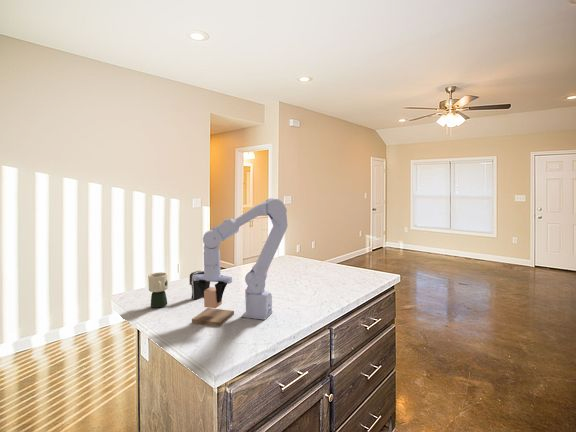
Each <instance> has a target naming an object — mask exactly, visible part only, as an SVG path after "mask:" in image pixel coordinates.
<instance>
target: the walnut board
mask: <svg viewBox="0 0 576 432" xmlns="http://www.w3.org/2000/svg"><path fill="white" fill-rule="evenodd" d="M234 315H235V310H230V309H221V308H208V307H206V309H204V310H203V311H202V312H200V313H198V314H197V315H196V316H194V317H192V319H191V324H194V325H203V326H211V327H222V326H223V325H224V324H225V323H227V321H229V320H230V319H231V318H232V317H233V316H234Z"/></svg>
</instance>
